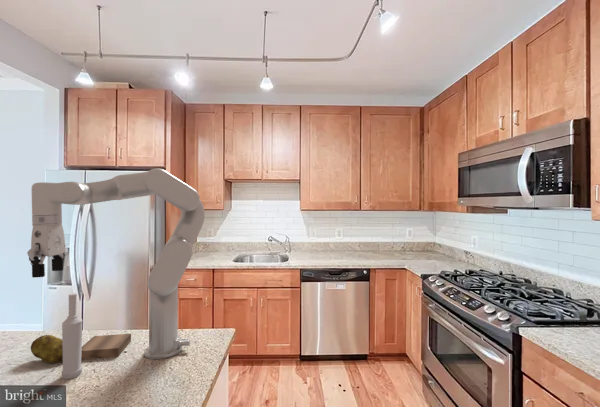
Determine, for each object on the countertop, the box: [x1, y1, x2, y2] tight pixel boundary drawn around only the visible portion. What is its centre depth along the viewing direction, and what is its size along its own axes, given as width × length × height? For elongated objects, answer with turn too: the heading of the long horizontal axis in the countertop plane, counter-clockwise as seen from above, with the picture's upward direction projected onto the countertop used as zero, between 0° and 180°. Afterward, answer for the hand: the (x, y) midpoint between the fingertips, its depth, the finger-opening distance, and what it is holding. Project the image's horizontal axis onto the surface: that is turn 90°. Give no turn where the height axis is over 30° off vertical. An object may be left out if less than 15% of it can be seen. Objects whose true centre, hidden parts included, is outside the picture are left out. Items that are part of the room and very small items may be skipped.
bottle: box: [61, 292, 84, 380], centre depth 98 cm, size 5×5×25 cm
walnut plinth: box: [81, 333, 132, 361], centre depth 115 cm, size 13×13×3 cm
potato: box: [30, 334, 63, 364], centre depth 107 cm, size 8×13×8 cm, turn 67°
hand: (48, 273), depth 102 cm, fingers open, 9 cm apart
